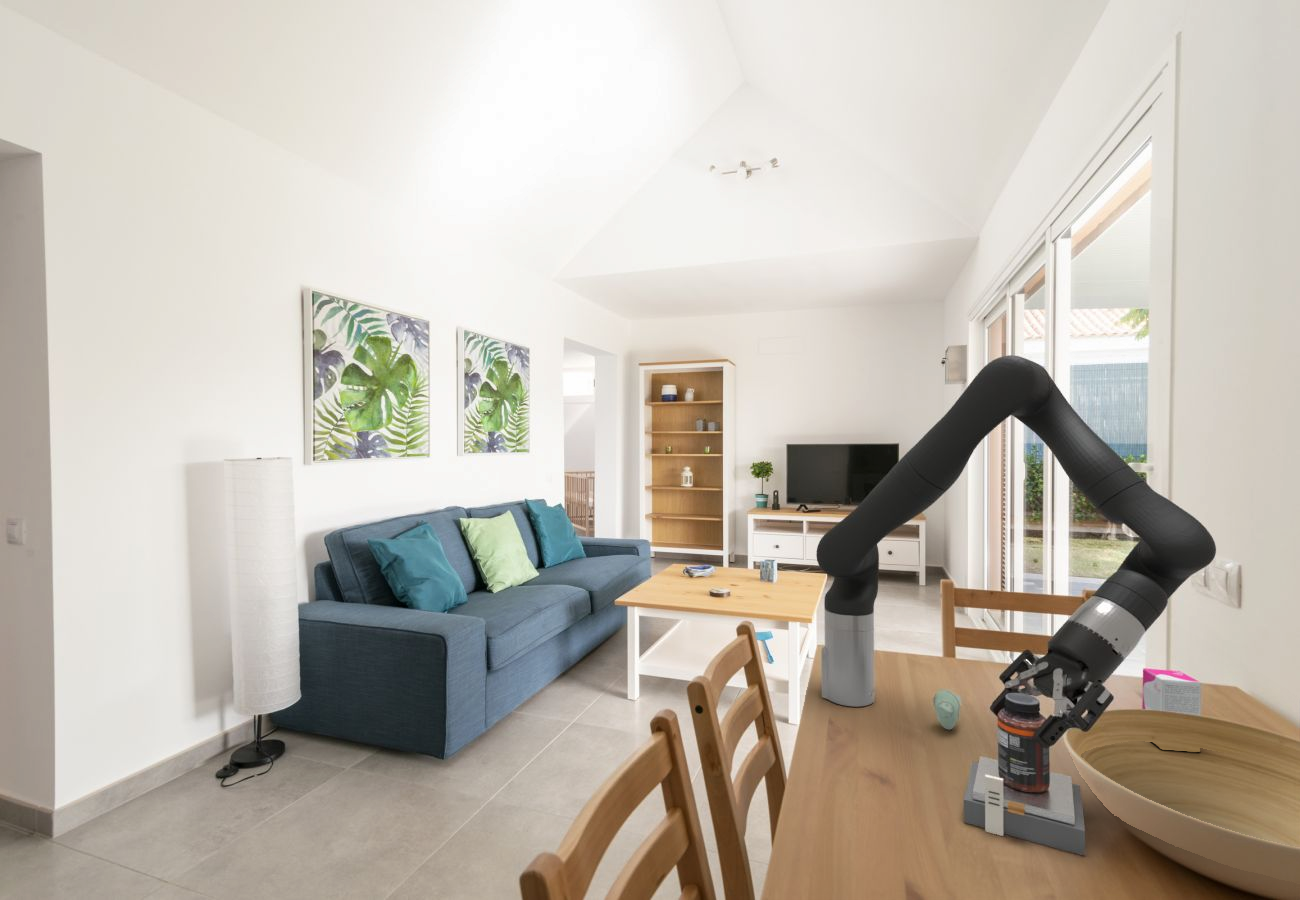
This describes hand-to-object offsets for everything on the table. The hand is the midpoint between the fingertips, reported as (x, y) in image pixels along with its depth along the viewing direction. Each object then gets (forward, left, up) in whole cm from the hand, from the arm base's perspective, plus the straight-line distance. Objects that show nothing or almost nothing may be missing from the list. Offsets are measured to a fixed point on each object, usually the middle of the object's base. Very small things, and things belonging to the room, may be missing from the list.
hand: (1016, 728), depth 84 cm
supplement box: (+21, +37, -12) cm, 44 cm away
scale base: (+1, +1, -12) cm, 12 cm away
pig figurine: (-11, +24, -12) cm, 29 cm away
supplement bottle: (+1, +1, -8) cm, 8 cm away
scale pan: (+1, 0, -8) cm, 8 cm away
